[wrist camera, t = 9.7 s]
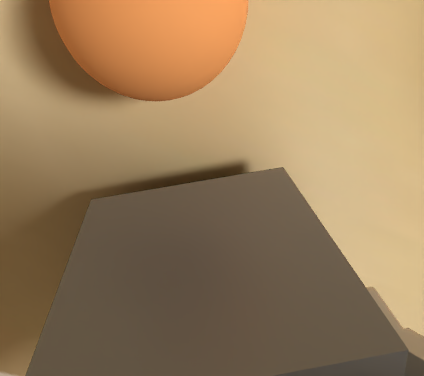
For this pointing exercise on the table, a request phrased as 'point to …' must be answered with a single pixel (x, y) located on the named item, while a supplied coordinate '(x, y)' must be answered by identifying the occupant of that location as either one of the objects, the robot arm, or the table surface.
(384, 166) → the table surface
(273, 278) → the grey rectangular prism
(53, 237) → the table surface
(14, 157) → the table surface
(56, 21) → the ball
